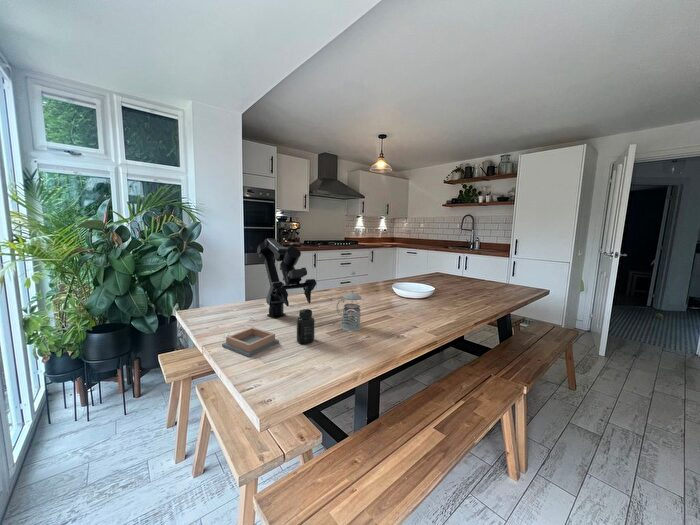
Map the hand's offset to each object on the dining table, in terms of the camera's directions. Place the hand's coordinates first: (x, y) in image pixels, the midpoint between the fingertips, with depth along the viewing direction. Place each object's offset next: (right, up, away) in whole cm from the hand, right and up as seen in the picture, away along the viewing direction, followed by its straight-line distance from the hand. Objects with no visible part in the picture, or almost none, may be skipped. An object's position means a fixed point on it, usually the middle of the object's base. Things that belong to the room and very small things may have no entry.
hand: (299, 304), depth 113 cm
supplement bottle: (+3, -14, -4) cm, 15 cm away
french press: (+20, -12, +13) cm, 27 cm away
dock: (-16, -14, -9) cm, 23 cm away
